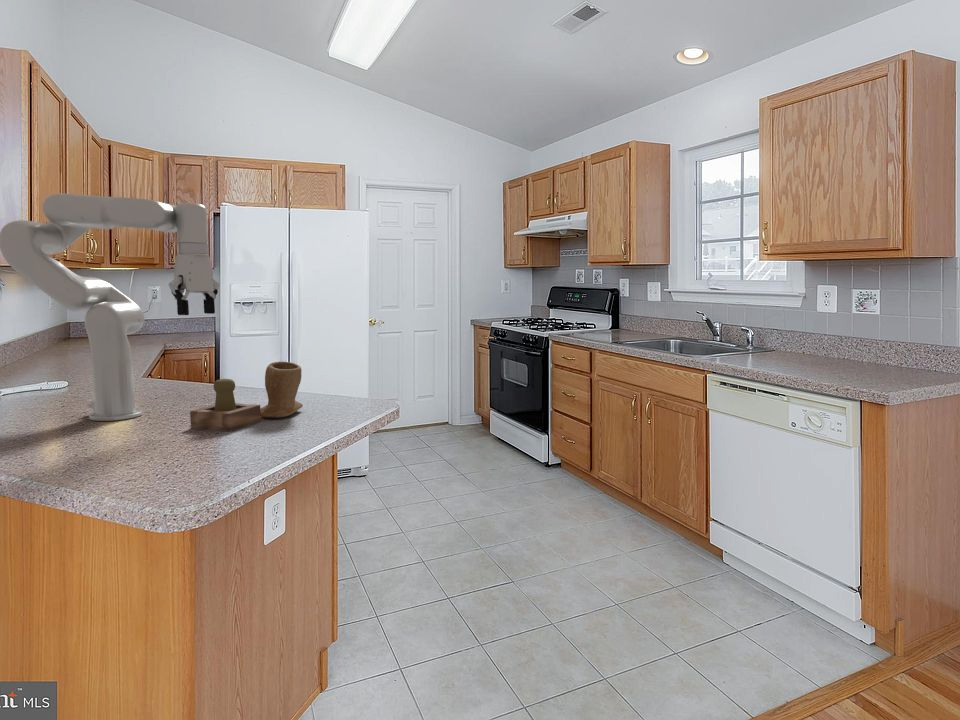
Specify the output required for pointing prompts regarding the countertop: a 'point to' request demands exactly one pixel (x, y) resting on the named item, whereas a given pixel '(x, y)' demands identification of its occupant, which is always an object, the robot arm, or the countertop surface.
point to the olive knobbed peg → (224, 395)
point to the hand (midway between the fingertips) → (196, 314)
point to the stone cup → (281, 389)
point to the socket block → (225, 417)
